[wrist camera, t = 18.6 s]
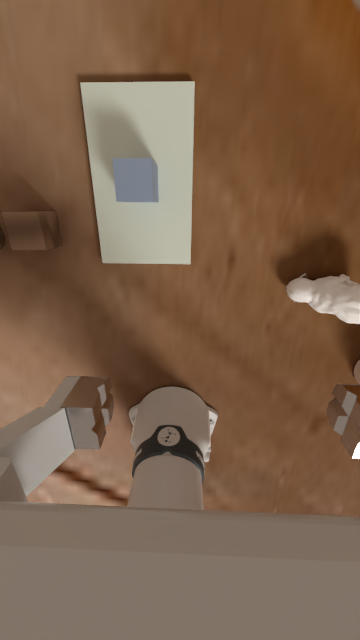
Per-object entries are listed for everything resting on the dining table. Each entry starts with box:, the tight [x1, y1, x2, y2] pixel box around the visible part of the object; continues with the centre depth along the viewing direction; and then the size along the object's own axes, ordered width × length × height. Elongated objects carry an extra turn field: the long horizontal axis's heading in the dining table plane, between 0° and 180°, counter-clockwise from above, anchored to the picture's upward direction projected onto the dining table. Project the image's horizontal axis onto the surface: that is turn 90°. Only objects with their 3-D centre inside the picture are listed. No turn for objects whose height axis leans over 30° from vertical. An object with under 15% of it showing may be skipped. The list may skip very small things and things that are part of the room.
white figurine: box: [286, 274, 360, 324], centre depth 38 cm, size 6×8×12 cm
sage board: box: [80, 81, 195, 264], centre depth 35 cm, size 22×14×1 cm, turn 0°
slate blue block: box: [112, 158, 159, 202], centre depth 32 cm, size 4×4×6 cm
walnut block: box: [1, 211, 62, 250], centre depth 37 cm, size 5×5×5 cm
